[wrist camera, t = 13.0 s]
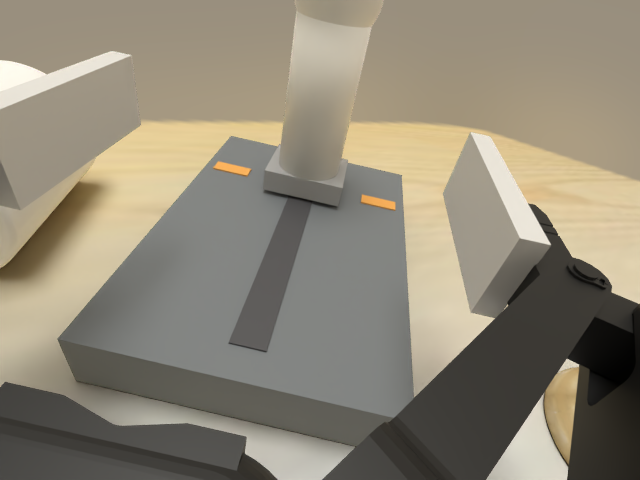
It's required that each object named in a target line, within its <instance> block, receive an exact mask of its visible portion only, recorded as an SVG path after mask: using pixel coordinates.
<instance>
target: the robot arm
mask: <svg viewBox="0 0 640 480" xmlns="http://www.w3.org/2000/svg"><path fill="white" fill-rule="evenodd" d="M140 125H141V122H140V115H139V107H138V100H137V92H136V85H135V77H134V70H133V63H132V56H131V55H128V54H123V53H119V52H114V51H110V52H107V53H105V54H102V55H99V56H97V57H94V58H91V59H88V60H86V61H83V62H80V63H77V64H74V65H72V66H69V67H66V68H63V69H61V70H58V71H55V72H53V73H50V74H47V75H44V76H42V77H39V78H36V79H33V80H31V81H28V82H25V83H22V84H20V85H17V86H14V87H11V88H9V89H6V90H3V91H0V206H4V207H8V208H12V209H17V210H22V209H23V208H25V207H26V206H28V205H29V204H30V203H32V202H33V201H35V200H36V199H37V198H39V197H40V196H42V195H43V194H45V193H46V192H47V191H49V190H50V189H52V188H53V187H54V186H56V185H57V184H59V183H60V182H61V181H63V180H64V179H66V178H67V177H68V176H70V175H71V174H73V173H74V172H75V171H77V170H78V169H80V168H81V167H83V166H84V165H85V164H87V163H88V162H90V161H91V160H92V159H94V158H95V157H97V156H98V155H99V154H101V153H102V152H104V151H105V150H106V149H108V148H109V147H111V146H112V145H114V144H115V143H116V142H118V141H119V140H121V139H122V138H123V137H125V136H126V135H128V134H129V133H130V132H132V131H133V130H135V129H136V128H137V127H139V126H140ZM443 196H444V201H445V205H446V209H447V213H448V218H449V222H450V226H451V230H452V235H453V239H454V243H455V248H456V252H457V256H458V260H459V265H460V269H461V273H462V277H463V282H464V286H465V290H466V294H467V299H468V303H469V307H470V312H471V313H475V314H480V315H484V316H488V317H493V318H495V319H494V320H493V321H492V322H491V323H490V324H489V325H488V326H487V327H486V328H485V329H484V330H483V331H482V332H481V333H480V334H479V335H478V336H477V337H476V338H475V339H474V340H473V341H472V342H471V343H470V344H469V345H468V346H467V347H466V348H465V349H464V350H463V351H462V352H461V353H460V354H459V355H458V356H457V357H456V358H455V359H454V360H453V361H452V362H451V363H449V364H448V365H447V366H446V367H445V368H444V369H443V370H442V371H441V372H440V373H439V374H438V375H437V376H436V377H435V378H434V379H433V380H432V381H431V382H430V383H429V384H428V385H427V386H426V387H425V388H424V389H423V390H422V391H421V392H420V393H419V394H418V395H417V396H416V397H415V398H414V399H413V400H412V401H411V402H410V403H409V404H408V405H407V406H406V407H405V408H404V409H403V410H402V411H401V412H400V413H398V414H397V415H396V416H395V417H394V418H393V419H392V420H391V421H390V422H388V423H387V422H384V423H382V424H381V425H379V426H378V427H377V428H376V429H375V430H374V431H373V432H371V433H370V434H369V435H368V436H367V437H366V438H365V439H364V440H363V441H362V442H361V443H360V444H359V445H358V446H357V447H356V448H355V449H354V450H353V451H352V452H351V453H349V454H348V455H347V456H346V457H345V458H344V459H343V460H342V461H341V462H340V463H339V464H338V465H337V466H336V467H335V468H334V469H333V470H332V471H331V472H330V473H329V474H328V475H327V476H326V477H325V478H323V479H322V480H486V479H487V477H488V476H489V474H490V473H491V471H492V470H493V468H494V467H495V465H496V464H497V462H498V461H499V459H500V458H501V456H502V455H503V453H504V452H505V450H506V449H507V447H508V446H509V444H510V443H511V441H512V440H513V438H514V437H515V435H516V434H517V432H518V431H519V429H520V428H521V426H522V425H523V423H524V422H525V420H526V419H527V417H528V416H529V414H530V413H531V411H532V410H533V408H534V407H535V405H536V404H537V402H538V401H539V399H540V398H541V396H542V395H543V393H544V392H545V390H546V389H547V387H548V386H549V384H550V383H551V381H552V380H553V378H554V377H555V375H556V374H557V372H558V371H559V369H560V368H561V366H562V365H563V363H564V362H565V360H566V359H569V360H571V361H573V362H575V363H577V364H579V373H578V383H577V392H576V402H575V411H574V421H573V430H572V439H571V449H570V458H569V468H568V477H567V480H640V304H637V303H635V302H633V301H630V300H628V299H626V298H623V297H621V296H618V295H616V294H614V293H611V290H612V285H611V284H610V282H609V280H608V278H607V277H606V276H605V275H604V274H603V273H602V272H601V271H599V270H598V269H596V268H595V267H593V266H592V265H590V264H588V263H586V262H584V261H582V260H580V259H576V258H573V257H572V256H571V254H570V253H569V251H568V250H567V248H566V246H565V245H564V243H563V241H562V240H561V238H560V236H558V233H557V231H556V230H555V228H553V225H552V223H551V222H550V220H549V218H548V217H547V215H546V214H545V213H543V212H542V211H541V210H540V209H539V208H538V207H537V206H536V205H533V204H528V203H527V201H526V199H525V198H524V196H523V194H522V192H521V190H520V189H519V187H518V185H517V183H516V182H515V180H514V178H513V176H512V174H511V173H510V171H509V169H508V167H507V166H506V164H505V162H504V160H503V158H502V157H501V155H500V153H499V151H498V150H497V148H496V146H495V144H494V142H493V141H492V139H491V137H490V136H486V135H481V134H477V133H472V132H470V134H469V136H468V139H467V141H466V143H465V145H464V147H463V150H462V152H461V154H460V156H459V159H458V161H457V163H456V165H455V167H454V170H453V172H452V174H451V176H450V179H449V181H448V183H447V185H446V187H445V190H444V192H443ZM507 304H508V307H507V308H506V309H505V310H504V308H505V307H506V306H507ZM503 310H504V311H503ZM502 311H503V312H502ZM245 446H246V437H245V436H241V435H236V434H232V433H227V432H223V431H219V430H214V429H210V428H205V427H201V426H197V425H192V424H188V423H185V424H160V425H136V426H118V425H114V424H112V423H110V422H108V421H106V420H105V419H103V418H101V417H100V416H98V415H96V414H95V413H93V412H91V411H90V410H88V409H86V408H85V407H83V406H81V405H79V404H78V403H76V402H74V401H73V400H71V399H69V398H68V397H66V396H64V395H60V394H56V393H52V392H47V391H43V390H38V389H34V388H30V387H25V386H21V385H16V384H12V383H8V382H5V383H4V384H3V385H2V386H1V387H0V480H277V479H276V478H275V477H274V476H273V475H272V474H271V472H270V471H269V470H267V469H266V468H265V467H264V466H262V465H261V464H260V463H259V462H257V461H256V460H254V459H253V458H251V457H249V456H248V455H246V454H245Z"/></svg>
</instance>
